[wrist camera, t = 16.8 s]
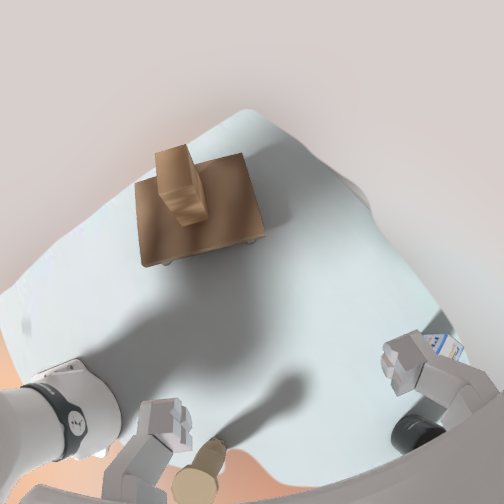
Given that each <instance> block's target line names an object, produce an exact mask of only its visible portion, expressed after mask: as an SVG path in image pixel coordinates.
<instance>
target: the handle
mask: <svg viewBox="0 0 504 504" xmlns="http://www.w3.org/2000/svg"><path fill="white" fill-rule="evenodd" d="M226 450H227V449H226V447H225V445H224V441H223V440H219V439H217V438H212V439H211V440H210V441H208V442H206V443H205V444H204V445H203V446H202V447H201V448H200V450H199V451H198V453H197V454H196V456H195V458H194V460H193V462H192V465H187V466H185V467H184V468H183V469H182V470H180V471H179V472H178V473H177V474H176V476H175V478H174V480H173V483H172V487H171V490H172V494H173V497H174V500H175V501H176V502H177V503H178V504H212V503H213V501H214V499H215V497H216V494H217V491H218V481H217V475H218V473H219V471H220V470H221V468H222V466H223V463H224V460H225V456H226Z"/></svg>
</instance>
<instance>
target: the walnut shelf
mask: <svg viewBox="0 0 504 504" xmlns="http://www.w3.org/2000/svg"><path fill="white" fill-rule="evenodd" d="M195 168H196V170H197V172H198V175H199V177H200V180H201V182H202V185H203V190H204V195H205V200H206V205H207V210H208V215H209V220H206V221H203V222H199V223H195V224H191V225H188V226H184V227H182V226H181V224H180V223H179V221H178V220H177V219H176V217H175V216H174V215H173V213H172V212H171V211H170V209H169V208H168V207H167V205H166V204H165V202H164V201H163V200H162V198H161V197H160V196H159V194H158V184H157V176H155V177H152V178H149V179H146V180H143V181H140V182H137V183H135V199H136V214H137V226H138V236H139V246H140V255H141V263H142V266H144V267H150V266H154V265H158V264H162V265H165V266H167V265H169V264H170V263H171V261H173V260H177V259H181V258H184V257H188V256H192V255H196V254H200V253H204V252H208V251H211V250H215V249H219V248H223V247H227V246H231V245H235V244H239V243H243V242H246V243H248V244H253V243H254V242H255V241H256V239H259V238H263V237H265V230H264V226H263V223H262V219H261V216H260V212H259V209H258V205H257V202H256V198H255V195H254V192H253V188H252V185H251V181H250V178H249V174H248V171H247V168H246V164H245V161H244V158H243V154H242V153H238V154H234V155H230V156H226V157H222V158H218V159H214V160H210V161H207V162H203V163H199V164H196V165H195Z"/></svg>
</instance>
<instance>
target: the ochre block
mask: <svg viewBox="0 0 504 504" xmlns="http://www.w3.org/2000/svg"><path fill="white" fill-rule="evenodd" d="M155 161H156V173H157V184H158V194H159V196H160V197H161V198H162V200H163V201H164V202H165V204H166V205H167V207H168V208H169V209H170V211H171V212H172V213H173V215H174V216H175V217H176V219H177V220H178V221H179V223H180V224H181V226H182V227H184V226H188V225H191V224H195V223H199V222H203V221H206V220H209V215H208V210H207V205H206V200H205V195H204V190H203V185H202V182H201V180H200V177H199V175H198V172H197V170H196V168H195V165H194V163H193V160H192V158H191V155H190V153H189V151H188V148H187V146H186V144H185V145H181V146H178V147H175V148H171V149H168V150H165V151H162V152H159V153H155Z"/></svg>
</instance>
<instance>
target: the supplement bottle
mask: <svg viewBox="0 0 504 504" xmlns="http://www.w3.org/2000/svg"><path fill="white" fill-rule="evenodd" d="M445 432H447V431H446V430H445V428H444V427H442V426H440V425H438V424H436V423H434V422H432V421H430V420H427V419H425V418H423V417H421V416H419V415H410V416H407V417H405V418H403V419H402V420H401V421H399V422H398V424H397V425H396V426H395V428H394V429H393V431H392V435H391V443H392V445H393V447H394V448H395V449H396V450H397V451H399V452H400V453H401V454H402V455H405V454H407V453H409V452H411V451H413V450H415V449H417V448H419V447H421V446H422V445H424V444H426V443H428V442H430V441H431V440H433V439H435V438H437V437H438V436H440V435H442V434H443V433H445Z"/></svg>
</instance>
